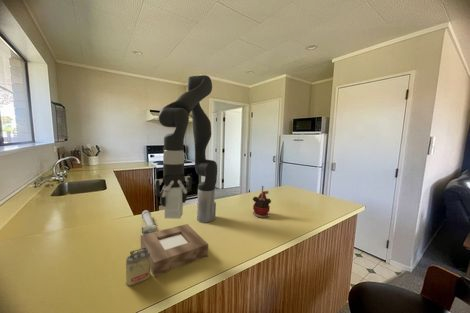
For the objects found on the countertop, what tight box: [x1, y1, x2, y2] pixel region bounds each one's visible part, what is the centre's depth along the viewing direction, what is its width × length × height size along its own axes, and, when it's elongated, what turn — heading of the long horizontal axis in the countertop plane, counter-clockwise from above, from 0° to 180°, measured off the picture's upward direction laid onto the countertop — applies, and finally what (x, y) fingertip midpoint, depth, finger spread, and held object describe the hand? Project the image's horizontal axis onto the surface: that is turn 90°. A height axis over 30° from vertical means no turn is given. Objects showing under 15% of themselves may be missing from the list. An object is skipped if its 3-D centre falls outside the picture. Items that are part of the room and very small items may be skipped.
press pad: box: [159, 234, 188, 250], centre depth 77 cm, size 9×9×1 cm
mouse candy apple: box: [252, 185, 272, 218], centre depth 117 cm, size 11×9×18 cm
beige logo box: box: [125, 246, 152, 286], centre depth 62 cm, size 7×4×10 cm, turn 130°
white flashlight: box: [141, 209, 158, 235], centre depth 96 cm, size 5×7×25 cm
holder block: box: [140, 223, 209, 278], centre depth 77 cm, size 20×20×5 cm
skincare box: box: [164, 186, 184, 220], centre depth 76 cm, size 6×4×12 cm
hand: (173, 203), depth 76 cm, fingers closed on skincare box, 7 cm apart
